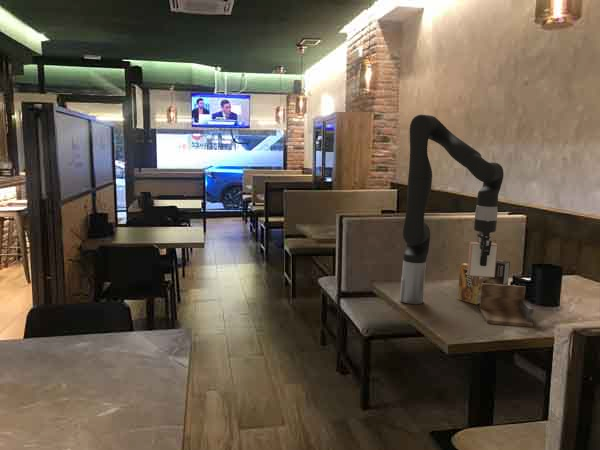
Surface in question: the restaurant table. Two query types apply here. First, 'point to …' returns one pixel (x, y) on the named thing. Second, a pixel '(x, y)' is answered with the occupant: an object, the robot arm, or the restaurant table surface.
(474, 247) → the boxed book
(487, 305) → the bookend
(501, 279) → the coffee box
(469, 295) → the candy box
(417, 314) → the restaurant table surface
